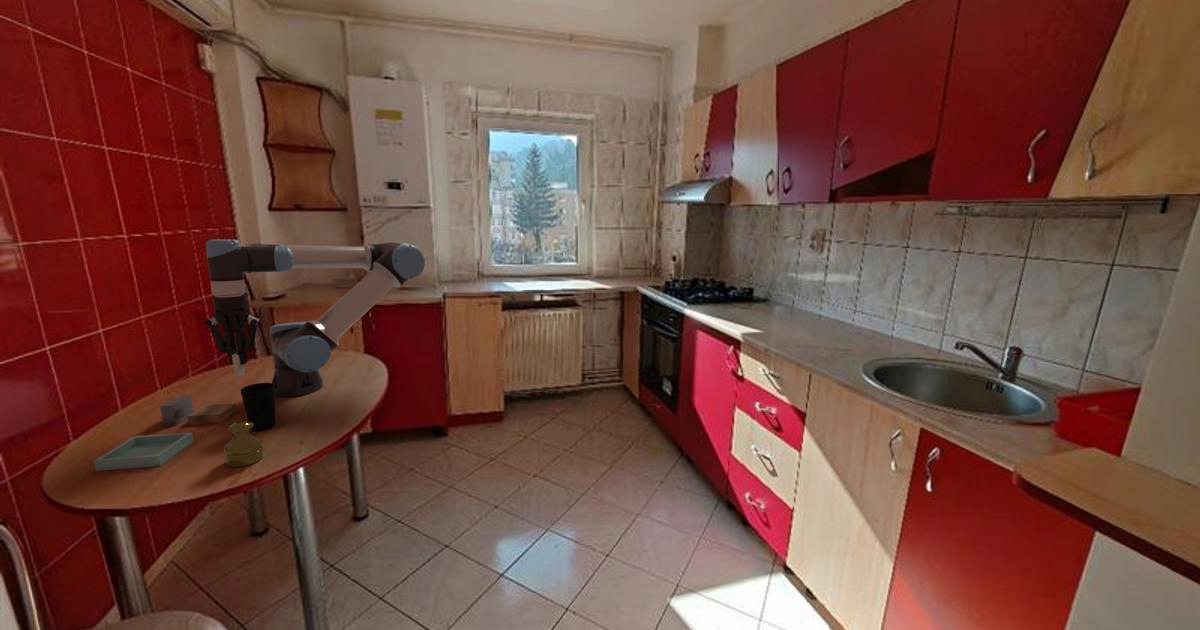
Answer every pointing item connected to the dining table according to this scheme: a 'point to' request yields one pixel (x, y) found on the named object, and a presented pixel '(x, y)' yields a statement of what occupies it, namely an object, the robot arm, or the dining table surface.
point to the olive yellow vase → (243, 445)
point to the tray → (144, 451)
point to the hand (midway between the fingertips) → (240, 375)
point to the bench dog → (176, 410)
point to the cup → (260, 405)
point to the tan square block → (211, 414)
